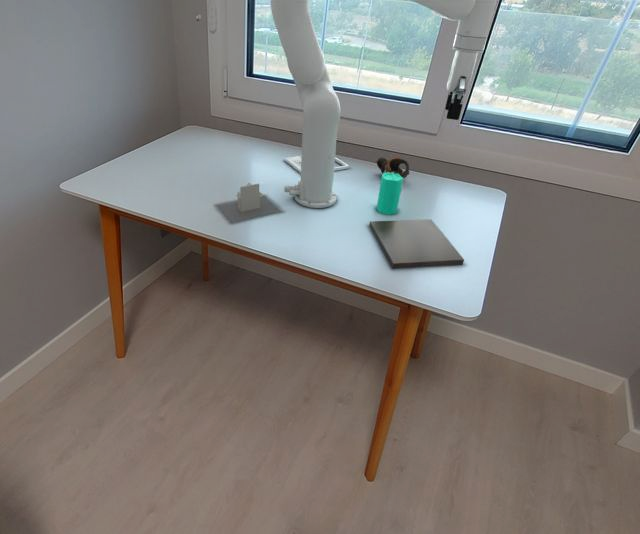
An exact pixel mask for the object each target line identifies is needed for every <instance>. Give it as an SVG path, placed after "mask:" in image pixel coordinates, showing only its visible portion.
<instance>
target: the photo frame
mask: <svg viewBox="0 0 640 534" xmlns="http://www.w3.org/2000/svg"><path fill="white" fill-rule="evenodd" d="M301 157H302V155H297V156H296V155H295V156H291V157H285V158H284V161H285V163H287V164H288V165H290V166H291V167H292V169H293V168H294V169H295V170H296V171H297V172H298V173H299V174H301ZM335 162H336V163H338V164H339V165H341V166H334V172H336V171H341V170H342V171H343V170H347V169H350V165H349V164H347V163H346V162H344V161H343V160H341V159H339V158H337V157H336V156H335Z"/></svg>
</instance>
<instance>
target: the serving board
mask: <svg viewBox="0 0 640 534" xmlns="http://www.w3.org/2000/svg"><path fill="white" fill-rule="evenodd" d="M368 227H369V229H370V231H371V232H372V234H373V236H374V237H375V239H376V241H377V243H378V245H379V246H380V249H381V250H382V252H383V254H384V256H385V258H386V259H387V261H388V263H389V265H390V267H391V269H394V270H395V269H409V268H426V267H427V268H429V267H444V266H445V267H446V266H448V267H449V266H462V265H464V262H465V259H464V258H463V256H462V255H461V254H460V253H459V251H458V250H457V248H455V247H454V245H453V244H452V243H451V241H450V240H449V238H447V237H446V236H445V234H444V232H442V230H441V229H440V228H439V226H438V225H437V224H436V223H435V222H434V221H433V219H427V218H426V219H402V220H401V219H400V220H399V219H398V220H373V221H372V220H371V221H369V224H368Z"/></svg>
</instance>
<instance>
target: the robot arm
mask: <svg viewBox="0 0 640 534" xmlns="http://www.w3.org/2000/svg"><path fill="white" fill-rule="evenodd" d="M409 1H410V2H413V3H416V4H418V5H420V6H423V7H425V8H427V9H429V10H430V11H431V12H432V14H433V15H434V16H436V17H438V18H441V19H445V20H450V21H453V22H454V21H458V23H457V28H456V31H455V36H454V40H453V45H452V50H454V51H455V52H454V56H453V58H452V59H453V60H452V64H451V68H450V71H449V75H448V79H447V84H446V91H447V93H448V95H447V99H446V102H445V108H444V109H445V111H447V113H446V119H447V120H454V121H458V120H460V116H461V112H462V108H463V105H464V99H465V95H467V94H468V91H469V88H470V85H471V81H472V78H473V74H474V70H475V67H476V63H477V58H478V56H479V55H478V54H482V53H484V50H485V46H486V42H487V39H488V35H489V32H490V27H491V25H492V20H493V17H494V13H495V10H496V5H497V2H498V0H409ZM309 3H310V0H270V10H271V15H272V18H273V22H274V24H275V28H276V31H277V34H278V37H279V38H278V39H279V40H280V43H281V46H282V50H283V52H284V55H285V58H286V62H287V67H288V71H289V73H290V74H291V77H292V80H293V82H294V85H295V88H296V90H297V93H298V96H299V98H300V101H301V104H302V111H303V112H302V113H303V114H302V115H303V116H302V117H303V118H302V132H301V133H302V134H301V156H302V157H301V173H300V180H298V182H297V184H294V185H284V188H283V189H284V193H288V194H289V196H294V201H296V203H298V205H299V204H300V205H301V206H304V207H306V208H311V209H325V208H329V207H332V206H334V205H335V204H336V203H337V197H338V196H337V195H336V193H335V192H334V191H333V185H334V173H335V171H334V167H335V162H336V161H335V157H336V152H337V140H338V139H337V138H338V131H339V127H340V126H339V125H340V120H341V109H342V108H341V102H340V99H339V97H338V95H337V93H336V91H335V90H334V87H333V84H332V81H331V78H330V75H329V72H328V69H327V65H326V58H325V57H326V56H325V54H324V52H323V50H322V47H321V46H320V43H319V39H318V36H317V33H316V30H315V27H314V23H313V20H312V16H311V13H310V5H309Z"/></svg>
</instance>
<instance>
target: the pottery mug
mask: <svg viewBox="0 0 640 534" xmlns="http://www.w3.org/2000/svg"><path fill="white" fill-rule="evenodd" d="M403 164H404V165H405V170H404V169H402V168H401V166H400V165H403ZM376 165H377V167H378V169H379V170H380V172H381V174H384V173H387V172H389V173H393V171H394V174H399V175H400V176H401V177H403V180H404V179H406V178H407V176H409V175H410V170H409V169H410V165H409V162H408V161H407V160H406V159H404V158H402V157H399V156H398V157H397V156H394V157H392V158H390V159H387V158H385V157H379V158H377V160H376Z"/></svg>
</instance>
